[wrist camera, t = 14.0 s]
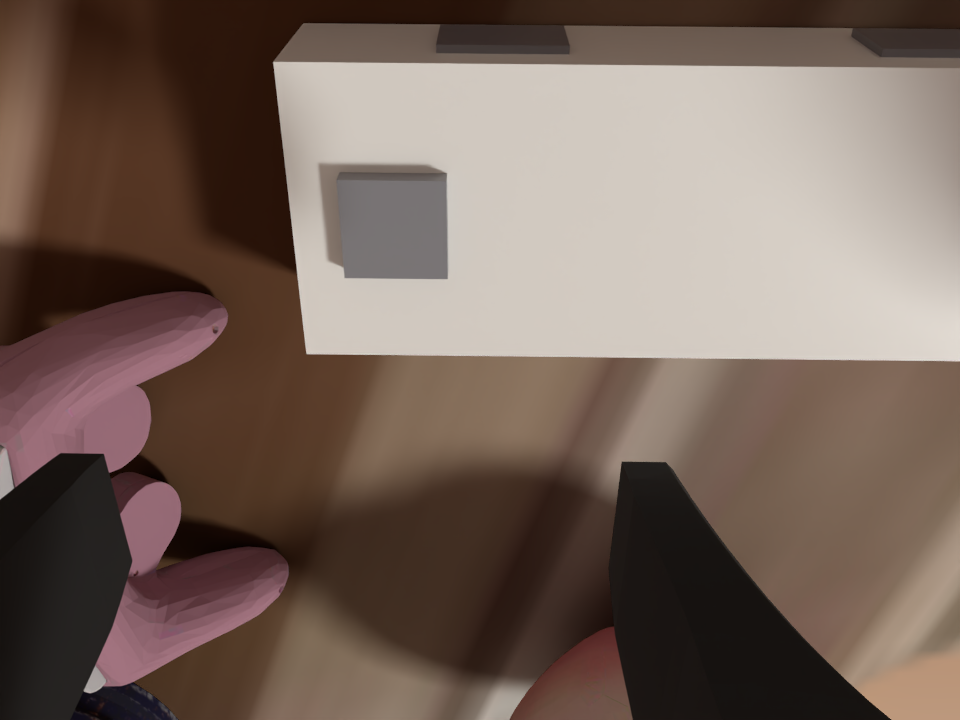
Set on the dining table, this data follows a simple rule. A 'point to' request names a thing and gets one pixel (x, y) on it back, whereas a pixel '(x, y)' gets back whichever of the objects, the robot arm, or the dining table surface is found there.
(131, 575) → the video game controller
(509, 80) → the power strip
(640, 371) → the dining table surface
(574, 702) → the decorative fruit
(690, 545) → the robot arm
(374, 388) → the dining table surface
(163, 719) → the storage jar
